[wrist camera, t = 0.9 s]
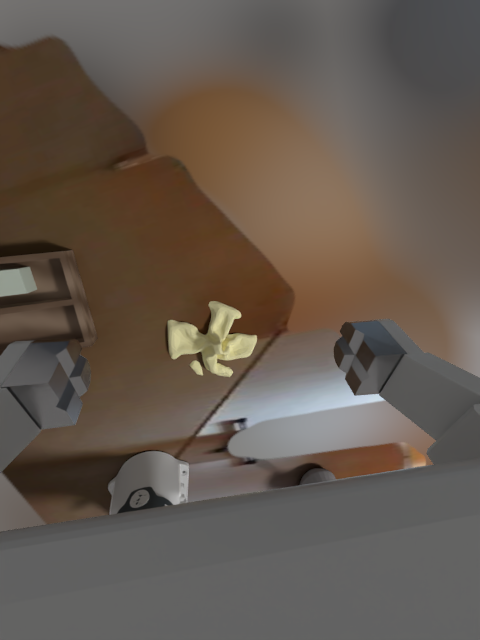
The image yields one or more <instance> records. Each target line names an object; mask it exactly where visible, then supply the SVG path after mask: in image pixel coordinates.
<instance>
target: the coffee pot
mask: <svg viewBox="0 0 480 640" xmlns="http://www.w3.org/2000/svg"><path fill="white" fill-rule="evenodd" d="M331 480H336V479H335V476H334V475H333V474H332V473H331V472H330V471H328V470H326V469H320V468H314V469H311V470H309V471H307V472H306V473H305V474H304V475H303V477H302V479H301V482H300V484H299V485H305V484H311V483H318V482H324V481H331Z"/></svg>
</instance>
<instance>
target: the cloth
mask: <svg viewBox="0 0 480 640" xmlns="http://www.w3.org/2000/svg"><path fill="white" fill-rule="evenodd" d="M209 307H210V310H211V321H210V324H209V329H208V333H207V334H206V335H204V334H202V333H200V332H199V331H198V330H197V328H196V327H195V326H193V325H191V324H189V323H187V322H178V321H174V320H169V321H168V323H167V325H168V346H169V354H170V356H171V358H172V359H176V358H178V357H179V356H180V355H183V354H195V353H198V352H201V353H202V357H203V362H204V366H205V367H206V369H207V370H209V371H210V372H212V373H215V374H217V375H220V376H229V377H230V376H231V375H232V373H233V371H232V369H230V368H229V367H227V366H223V365H222V364H220V363H217V359H221V360H233V359H237V358H244V357H248V356H250V355H251V353H252V351H253V349H254V346H255V344H256V342H257V336H256V335H246V334H241V333H235V334H228V333H229V330H230V328H231V326H232V323H233V320H234V319H239V318H240V317H241V313H240V312H239V311H238V310H236V309H235V308H232V307H230V306H227V305H225V304H223V303H220V302H217V301H212V302H210V303H209ZM190 366H191V368H192V369H193V370H194V371H195V372H196V374H199V375H203V373H202V368H201V366H200V363H199V362H198V361H193V362H192V363H191V364H190Z"/></svg>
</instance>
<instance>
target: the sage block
mask: <svg viewBox="0 0 480 640" xmlns="http://www.w3.org/2000/svg"><path fill="white" fill-rule="evenodd" d="M35 290H37V287H36V284H35V281H34V278H33V275H32V272H31V269H30V267H22V268H13V269H3V270H0V297H2V296H10V295H18V294H26V293H29V292H32V291H35Z"/></svg>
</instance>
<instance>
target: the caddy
mask: <svg viewBox="0 0 480 640" xmlns="http://www.w3.org/2000/svg"><path fill="white" fill-rule="evenodd" d="M22 267H30V269H31V272H32V275H33V278H34V281H35V284H36V287H37V290H35V291H32V292H29V293H26V294H18V295H10V296H2V297H0V356H1V354H2V353H3V352H4V350H5V349H6V348H7V346H8V345H9V344H11V343H13V342H15V341H35V340H51V339H76V340H78V341H79V343H80V345H81V347H88V346H92V345H93V344H94V343H95V341H96V340H97V339H98V338H97V334H96V330H95V327H94V323H93V320H92V316H91V313H90V309H89V306H88V302H87V299H86V295H85V291H84V288H83V284H82V281H81V277H80V274H79V270H78V267H77V263H76V260H75V256H74V252H73V250H69V251H59V252H48V253H38V254H28V255H18V256H8V257H0V270H3V269H13V268H22Z"/></svg>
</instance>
